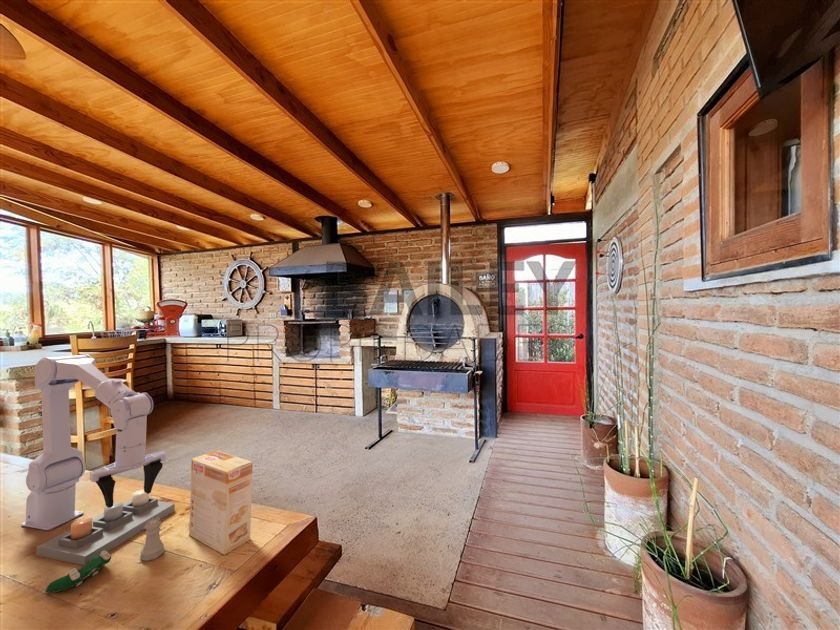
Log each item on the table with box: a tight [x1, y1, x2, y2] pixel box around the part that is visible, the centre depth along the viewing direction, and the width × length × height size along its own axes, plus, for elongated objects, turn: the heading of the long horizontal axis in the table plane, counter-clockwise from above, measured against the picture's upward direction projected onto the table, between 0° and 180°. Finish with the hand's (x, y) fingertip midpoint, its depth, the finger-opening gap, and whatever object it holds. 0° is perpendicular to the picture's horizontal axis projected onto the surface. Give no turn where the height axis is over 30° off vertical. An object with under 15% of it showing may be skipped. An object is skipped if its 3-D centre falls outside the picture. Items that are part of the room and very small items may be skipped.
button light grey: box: [103, 502, 124, 522], centre depth 87 cm, size 4×4×3 cm
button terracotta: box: [70, 517, 92, 540], centre depth 80 cm, size 4×4×3 cm
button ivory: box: [131, 489, 150, 507], centre depth 94 cm, size 4×4×3 cm
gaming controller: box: [45, 550, 112, 593], centre depth 71 cm, size 9×4×6 cm
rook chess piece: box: [139, 517, 165, 562], centre depth 79 cm, size 4×4×8 cm
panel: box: [35, 496, 176, 566], centre depth 87 cm, size 14×22×4 cm, turn 169°
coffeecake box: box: [188, 450, 254, 556], centre depth 86 cm, size 15×7×20 cm, turn 62°
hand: (129, 498), depth 84 cm, fingers open, 7 cm apart
